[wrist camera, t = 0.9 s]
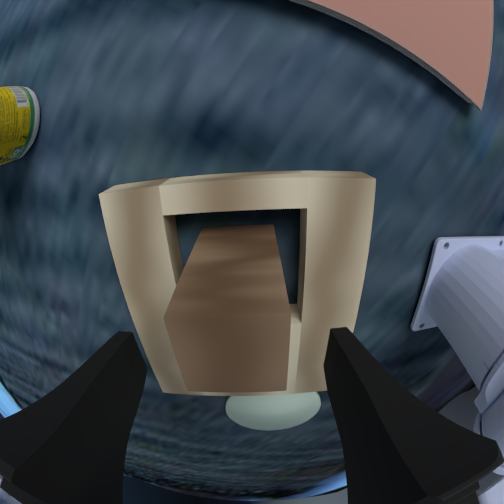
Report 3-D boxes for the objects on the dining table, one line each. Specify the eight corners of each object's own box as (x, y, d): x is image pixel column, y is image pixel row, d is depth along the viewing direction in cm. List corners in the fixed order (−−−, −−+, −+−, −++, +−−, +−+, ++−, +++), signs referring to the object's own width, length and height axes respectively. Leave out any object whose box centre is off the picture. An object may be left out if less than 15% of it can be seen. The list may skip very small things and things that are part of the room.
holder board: (361, 171, 14) (375, 178, 12) (332, 370, 21) (337, 388, 19) (115, 185, 14) (98, 194, 12) (168, 374, 21) (163, 392, 19)
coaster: (326, 375, 21) (327, 379, 21) (313, 422, 25) (314, 426, 25) (220, 380, 21) (219, 384, 21) (230, 427, 25) (230, 430, 25)
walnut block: (273, 224, 15) (290, 315, 8) (274, 284, 17) (286, 390, 10) (202, 227, 15) (162, 317, 8) (210, 287, 17) (187, 390, 10)
